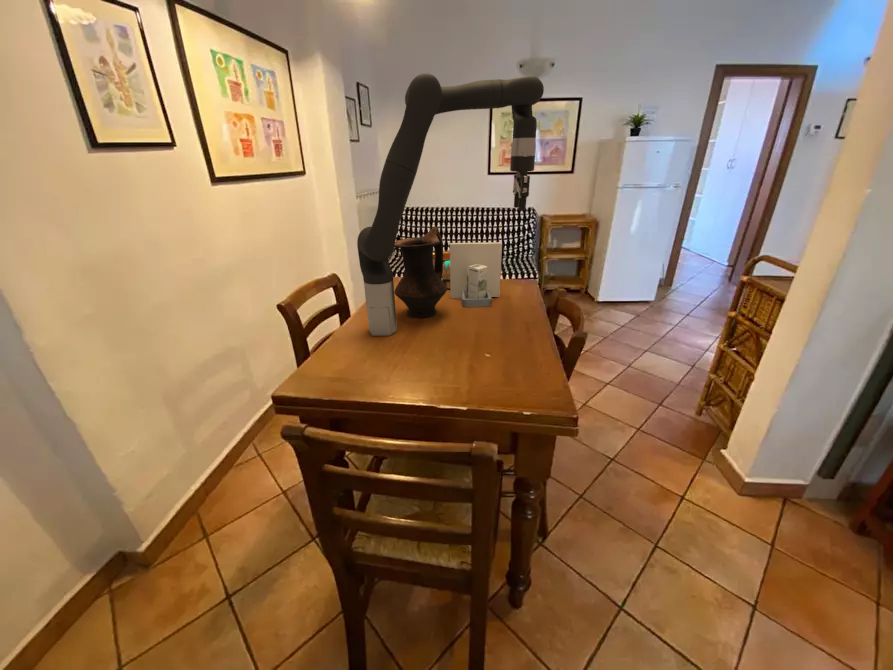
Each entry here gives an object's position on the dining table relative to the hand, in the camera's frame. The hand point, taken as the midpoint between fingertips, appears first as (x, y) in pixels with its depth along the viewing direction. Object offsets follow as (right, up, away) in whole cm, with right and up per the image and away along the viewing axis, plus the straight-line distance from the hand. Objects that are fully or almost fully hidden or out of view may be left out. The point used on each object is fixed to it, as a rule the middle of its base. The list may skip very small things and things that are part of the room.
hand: (519, 209), depth 123 cm
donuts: (-21, -18, +47) cm, 55 cm away
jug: (-32, -34, +14) cm, 49 cm away
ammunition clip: (-21, -23, +38) cm, 49 cm away
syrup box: (-12, -29, +24) cm, 40 cm away
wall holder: (-13, -29, +24) cm, 40 cm away
